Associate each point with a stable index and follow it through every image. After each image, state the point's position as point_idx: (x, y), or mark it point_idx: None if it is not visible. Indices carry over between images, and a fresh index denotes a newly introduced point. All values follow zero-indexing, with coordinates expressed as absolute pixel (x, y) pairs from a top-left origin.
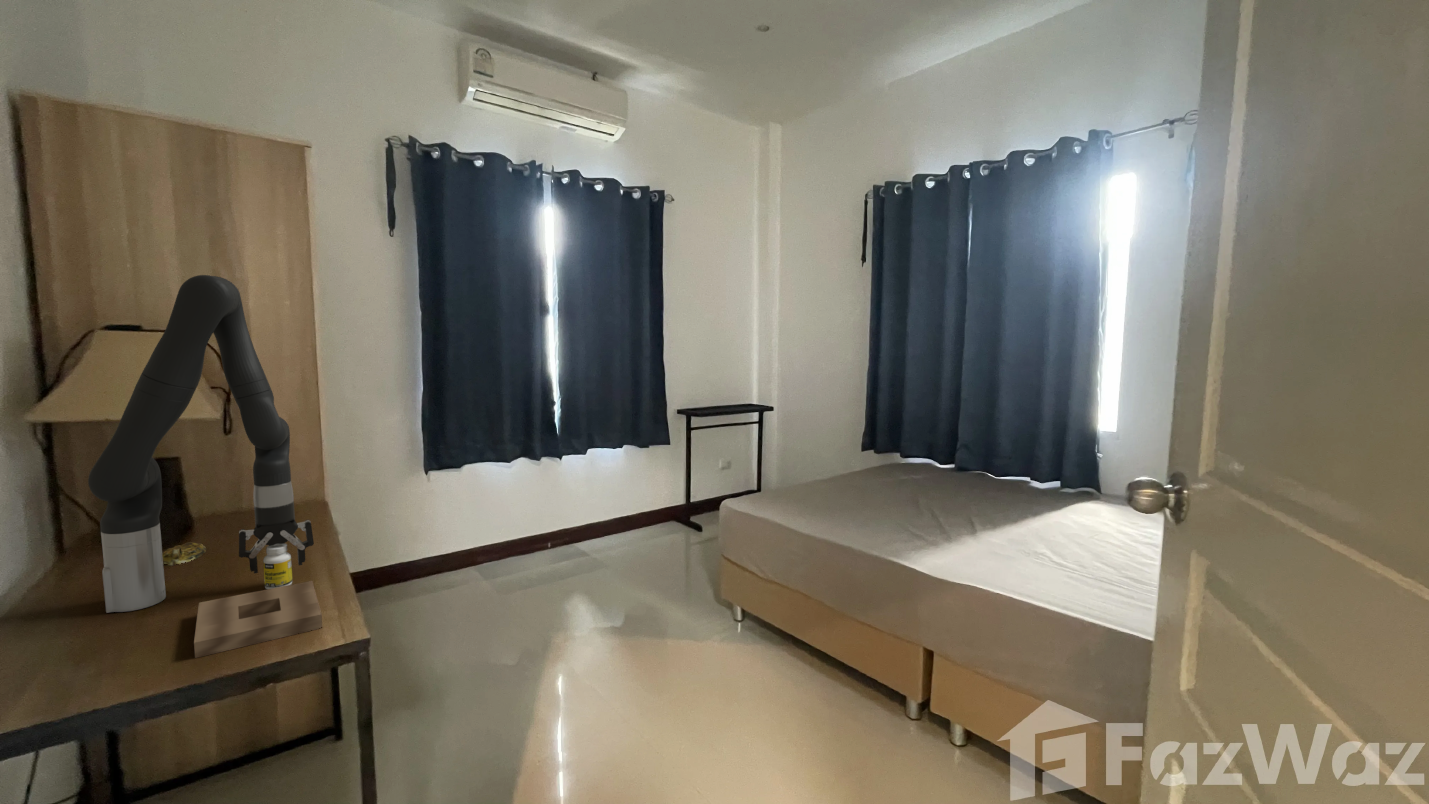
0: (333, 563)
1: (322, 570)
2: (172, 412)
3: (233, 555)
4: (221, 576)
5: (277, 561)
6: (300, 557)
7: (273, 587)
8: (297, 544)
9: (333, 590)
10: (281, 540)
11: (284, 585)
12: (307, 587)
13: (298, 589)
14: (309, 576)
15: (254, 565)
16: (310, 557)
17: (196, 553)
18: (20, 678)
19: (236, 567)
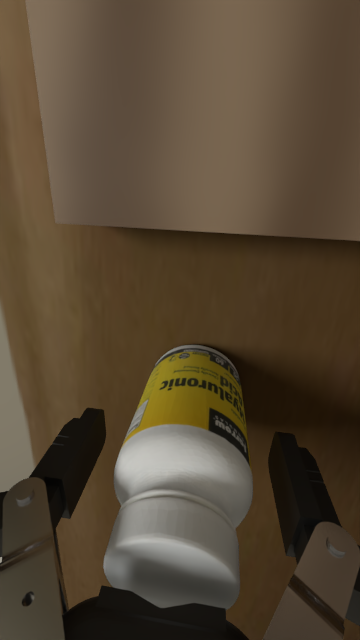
0: (36, 451)
1: (64, 420)
2: None
3: (260, 622)
4: None
5: (187, 435)
6: (73, 438)
7: (217, 354)
8: (31, 533)
9: (11, 195)
10: (116, 638)
11: (179, 348)
12: (72, 110)
13: (120, 107)
14: (100, 397)
15: (301, 471)
16: (98, 521)
17: None
18: None
19: (271, 566)
